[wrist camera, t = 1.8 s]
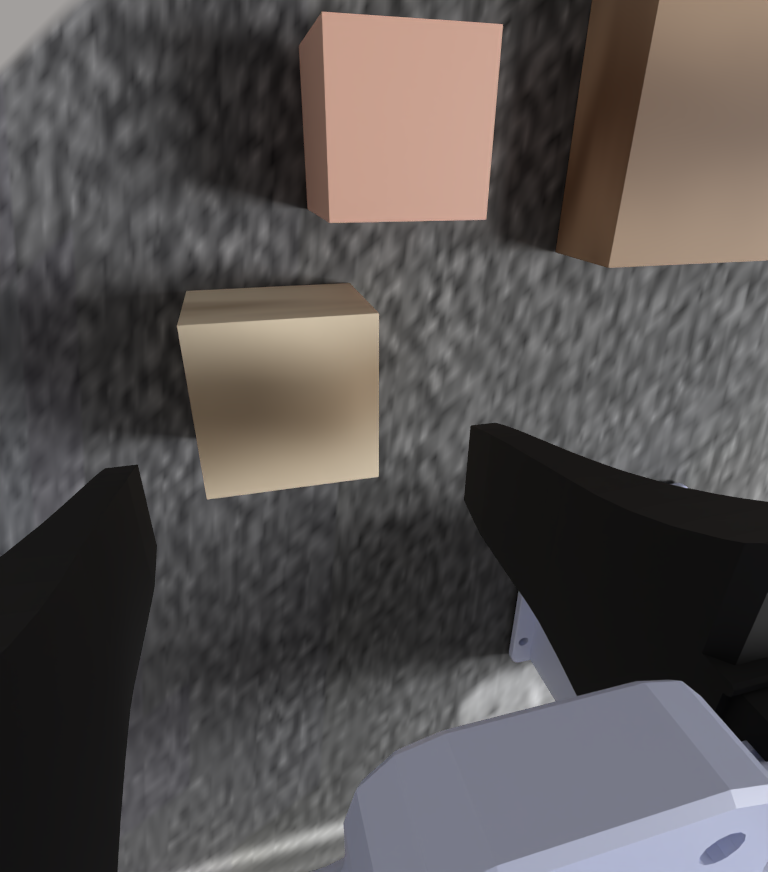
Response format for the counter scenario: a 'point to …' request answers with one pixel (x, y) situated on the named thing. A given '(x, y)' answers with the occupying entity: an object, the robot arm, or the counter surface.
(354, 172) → the terracotta block
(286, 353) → the maple block
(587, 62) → the walnut base
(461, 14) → the counter surface
